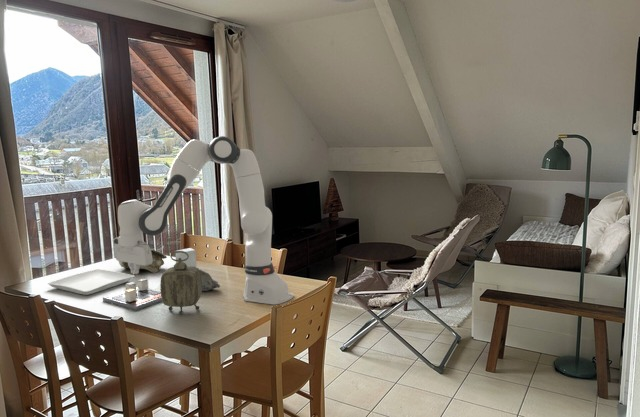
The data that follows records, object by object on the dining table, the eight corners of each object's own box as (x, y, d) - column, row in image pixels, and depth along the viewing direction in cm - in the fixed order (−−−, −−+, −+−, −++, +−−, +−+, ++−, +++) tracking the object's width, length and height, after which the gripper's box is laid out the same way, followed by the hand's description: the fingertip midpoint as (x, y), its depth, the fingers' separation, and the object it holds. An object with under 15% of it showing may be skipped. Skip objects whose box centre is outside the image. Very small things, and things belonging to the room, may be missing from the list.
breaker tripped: (136, 299, 200) (135, 289, 200) (130, 301, 198) (129, 291, 197) (131, 298, 202) (131, 288, 201) (125, 300, 199) (124, 290, 199)
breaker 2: (148, 288, 215) (147, 279, 214) (142, 290, 212) (141, 281, 212) (143, 287, 216) (143, 278, 216) (138, 289, 214) (137, 280, 213)
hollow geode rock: (120, 276, 261) (102, 261, 250) (131, 256, 268) (114, 240, 257) (161, 279, 250) (145, 264, 239) (171, 259, 257) (156, 243, 246)
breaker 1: (136, 292, 210) (135, 283, 209) (130, 294, 207) (129, 284, 207) (132, 291, 211) (131, 281, 211) (126, 293, 209) (125, 283, 208)
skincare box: (192, 276, 242) (190, 247, 239) (197, 279, 237) (196, 249, 235) (176, 279, 236) (174, 250, 234) (181, 282, 232) (179, 252, 230)
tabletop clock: (203, 308, 196) (200, 248, 192) (198, 316, 187) (195, 253, 183) (167, 309, 195) (163, 248, 192) (160, 317, 186) (156, 254, 183)
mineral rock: (221, 290, 219) (220, 269, 218) (203, 297, 210) (202, 274, 209) (202, 285, 226) (201, 264, 225) (183, 291, 218) (182, 270, 216)
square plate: (47, 290, 223) (46, 282, 222) (98, 275, 247) (97, 268, 246) (86, 299, 210) (85, 290, 210) (136, 282, 234) (135, 274, 234)
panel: (171, 298, 209) (171, 293, 209) (135, 310, 194) (135, 306, 194) (139, 289, 221) (138, 285, 220) (103, 301, 206) (102, 296, 206)
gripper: (155, 240, 192) (157, 274, 194) (123, 236, 203) (126, 268, 205) (141, 244, 187) (144, 278, 189) (110, 239, 198) (113, 272, 200)
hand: (134, 273), depth 197 cm, fingers closed
